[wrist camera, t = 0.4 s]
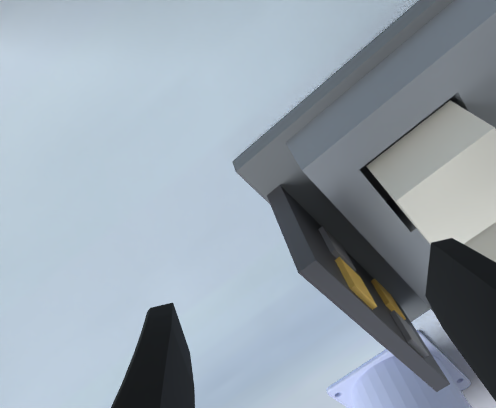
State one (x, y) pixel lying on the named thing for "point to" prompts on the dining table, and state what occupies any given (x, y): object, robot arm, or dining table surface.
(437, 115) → the button
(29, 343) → the dining table surface
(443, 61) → the button board
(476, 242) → the button
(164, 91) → the dining table surface
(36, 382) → the dining table surface
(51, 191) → the dining table surface
